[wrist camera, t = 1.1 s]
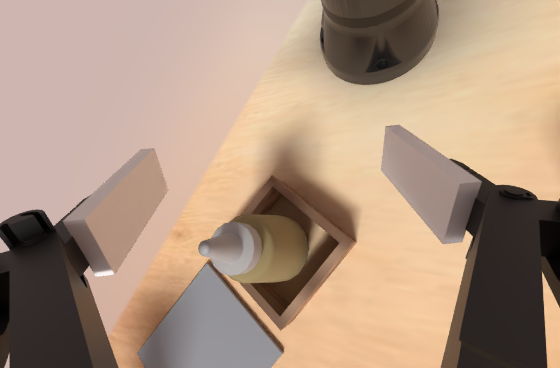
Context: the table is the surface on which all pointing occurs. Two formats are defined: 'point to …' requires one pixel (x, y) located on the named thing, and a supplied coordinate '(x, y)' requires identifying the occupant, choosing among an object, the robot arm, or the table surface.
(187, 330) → the slate mat
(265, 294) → the walnut tray
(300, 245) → the squeeze bottle
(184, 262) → the table surface
